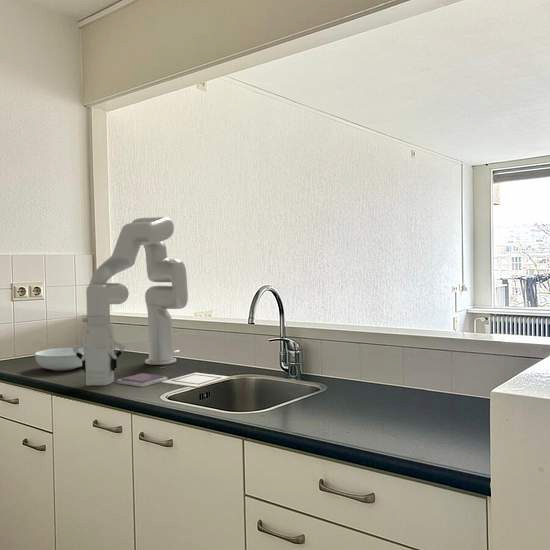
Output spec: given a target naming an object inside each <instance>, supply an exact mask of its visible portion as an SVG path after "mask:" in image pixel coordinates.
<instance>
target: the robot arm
mask: <svg viewBox="0 0 550 550" xmlns="http://www.w3.org/2000/svg"><path fill="white" fill-rule="evenodd" d="M174 231H175V225H174V222H173V221H172V219H170V217H167V216H157V217H154V216H153V217H152V216H151V217H140V218H139V217H138V218H135V219H133V220H132V221H131V222H130V223H126V224H124V225H123V226H122V227H121V229H120V233H119V234H118V238H117V240H116V243H115V246H114V247H113V248H114V249H113V252H112V254H111V256H110V257H108V258H107V259H106V260H105V261H104V262H103V263H102V264H100V265H99V266H98V268H96V269H95V271H94V272H93V274H92V276H91V278H90V281H89V284H88V285H87V287H86V289H85V290H86V292H85V293H86V294H85V295H86V317H82V323H86V324H85V325H84V328H83V336H82V337H83V338H82V341H81V343H79V344H77V345H76V346H73V347H72V348H73V351H74V352H75V354H76V356H77V357H79V358H80V359H81V361H82V366H81V368H82V369H81V370H82V371H83V373H85V374H86V365H85V354H89V353H90V349H95V348H107V350H108V354H110V355H111V356H112V357H113V359H112V371H114V372H115V370H116V369H117V367H118V364H117V359H118V358H119V357H120V355H122V353H123V352H124V350H125V348H126V346H125V344H122V343H121V342H118V341H117V340H115V333H114V327H113V324H112V323H111V313H110V312H111V310H110V309H111V308H110V307H111V306H110V305H122V304H124V303H125V302H126V301H127V300H128V298H129V294H130V293H129V289H128V288H127V286H126V285H125V284H123V283H119V282H114V283H113V282H112V283H111V282H108V281H109V280H110V279H111V278H112V277H114V276H115V275H117V274H119V273H121V272H123V271H125V270H127V269H129V268H130V269H131V267H133V266H134V265H135V263H136V259H137V256H138V255H139V251H140V247H141V246H143V248H144V252H145V262H146V273H147V278H148V280H149V281H150V282H153V283H170V284H171V285H153V286H150V287H149V288H147V289H146V291H145V294H144V295H145V296H144V299H145V304H146V310H147V321H148V322H147V324H148V327H147V328H148V358H147V359H145V360H144V363H145V364H146V365H153V366H154V365H155V366H156V365H157V366H160V365H162V366H163V365H170V364H171V365H172V364H175V363H176V362H177V358H176V357H175V356H178V355H180V354H181V351H180V349H179V350H178V349H176V350H174V349H173V321H172V320H173V319H172V316H171V314H170V313H169V311H168V310H181V309H184V308H185V307H186V306H187V304H188V299H189V290H188V278H187V277H188V276H187V269H186V265H185V263H184V262H183V261H182V260H181V259H177V258H168V251H167V246H166V243H165V241H166V240H168V239H170V238H171V237H172V235H173V234H174ZM115 347H118V348H119V349H118V351H117V352H115ZM80 348H83V352H84V355H82V354H81V353H80V352H79V350H78V349H80Z"/></svg>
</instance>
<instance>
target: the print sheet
mask: <svg viewBox="0 0 550 550" xmlns="http://www.w3.org/2000/svg"><path fill="white" fill-rule="evenodd" d="M230 378H231V376H227V375H219V374H218V375H217V374H212V373H211V374H210V373H209V374H208V373H202V372H201V373H200V372H193V373H189V374H186V375H181V376H178V377H174V378H171V379H167V380H166V381H163V382H160V383H162V384H168V385H169V384H170V385H175V386H176V385H177V386H182V387H183V386H184V387H188V388H190V387H191V388H196V389H197V388H200V387H204V386H207V385H210V384H213V383H218V382H220V381H224V380H226V379H227V380H228V379H230Z"/></svg>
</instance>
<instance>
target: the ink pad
mask: <svg viewBox="0 0 550 550" xmlns="http://www.w3.org/2000/svg"><path fill="white" fill-rule="evenodd" d="M166 380H168V376H165V375H160V374H159V375H158V374H152V373H151V374H150V373H137V374H134V375H130V376H126V377H121V378H119V379H116V383H117V384H119V385H128V386H134V387H139V388H144V387H147V386H151V385H155V384H158V383H161V382H163V381H166Z"/></svg>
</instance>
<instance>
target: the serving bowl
mask: <svg viewBox="0 0 550 550" xmlns="http://www.w3.org/2000/svg"><path fill="white" fill-rule="evenodd" d="M73 348H74V347H62V348H59V347H58V348H49V349H44V350H39V351H36V352H35V353H34V357H35V361H36V363H37V364H38V365H39V366H40V367H41V368H43V369H47V370H50V371H51V370H52V371H55V372H61V371H62V372H63V371H64V372H65V371H71V370H75V369H77V368H80V367H82V361H81V359H80V358H79V357H77V356H76V354H75V352H74V351H73ZM78 350H79V352H80V353H81V354H82V355H84V352H83V347H81V348H80V349H78Z"/></svg>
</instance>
